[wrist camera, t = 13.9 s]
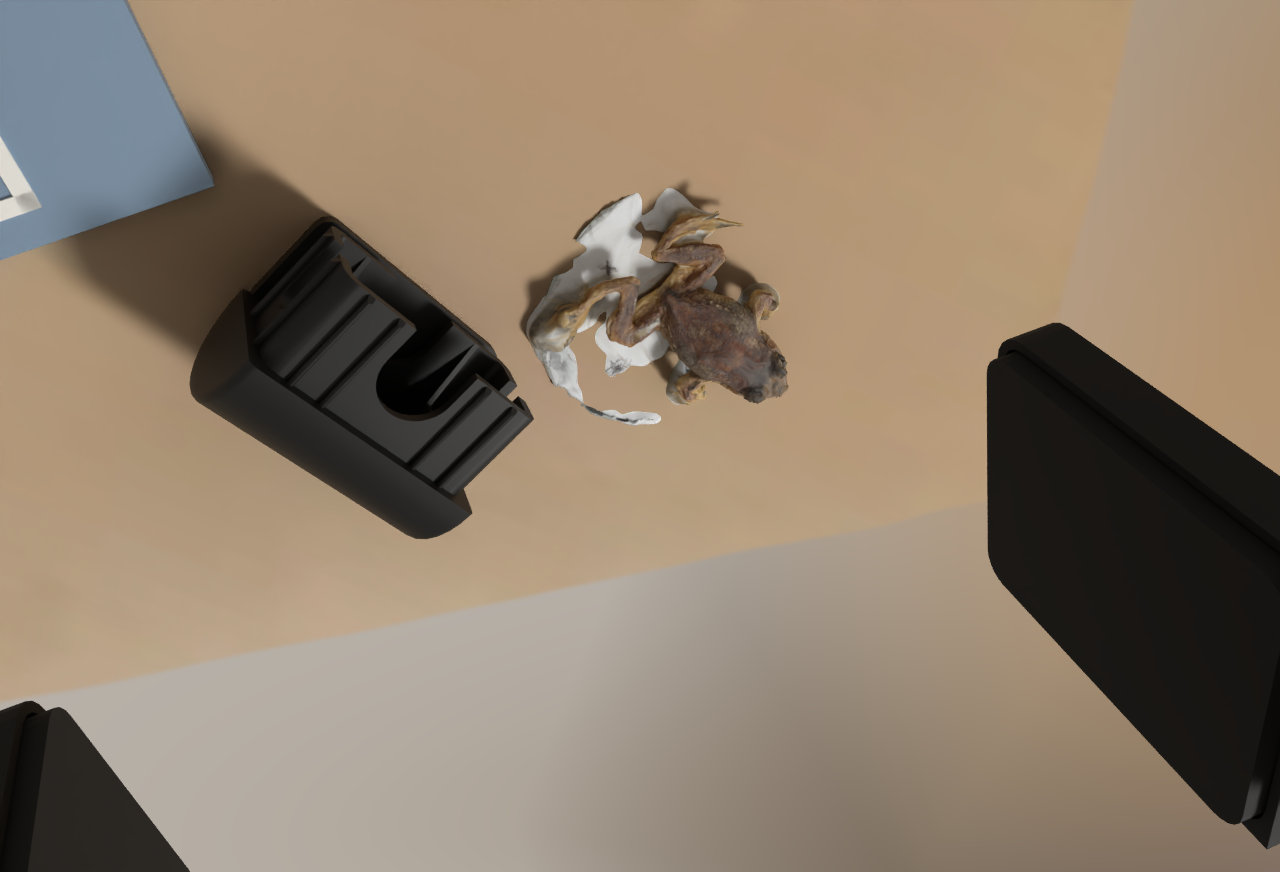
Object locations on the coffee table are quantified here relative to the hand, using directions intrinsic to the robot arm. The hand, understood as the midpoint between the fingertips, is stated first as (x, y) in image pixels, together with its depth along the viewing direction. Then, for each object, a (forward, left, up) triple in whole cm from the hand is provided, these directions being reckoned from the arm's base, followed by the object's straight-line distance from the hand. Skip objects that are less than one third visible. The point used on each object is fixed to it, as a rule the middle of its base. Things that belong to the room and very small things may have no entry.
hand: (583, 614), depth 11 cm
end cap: (+3, +12, -32) cm, 35 cm away
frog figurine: (-10, +16, -33) cm, 37 cm away
